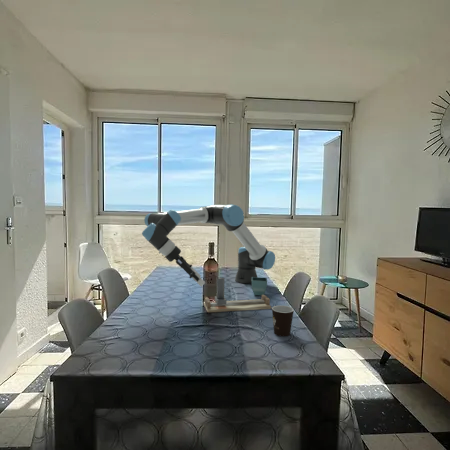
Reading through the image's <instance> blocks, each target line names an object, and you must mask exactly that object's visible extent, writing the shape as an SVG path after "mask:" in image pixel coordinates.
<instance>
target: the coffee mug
mask: <svg viewBox="0 0 450 450" xmlns="http://www.w3.org/2000/svg"><path fill="white" fill-rule="evenodd" d="M271 311H272V313H271V314H272V325H273V334H274V335H275V336H277V337H283V338H284V337H289V336H291V330H292V323H293V317H294V308H293V307H291V306H287V305H275V306H271Z"/></svg>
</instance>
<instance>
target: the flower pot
mask: <svg viewBox="0 0 450 450" xmlns="http://www.w3.org/2000/svg"><path fill="white" fill-rule="evenodd" d="M267 286H268V277H260V276H257V277H252V283H251V290H252V293H253V295H254V296H261V295H265V294H266V291H267V288H268V287H267Z"/></svg>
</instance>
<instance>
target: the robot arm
mask: <svg viewBox="0 0 450 450" xmlns="http://www.w3.org/2000/svg"><path fill="white" fill-rule="evenodd" d="M143 221H144V224H145V226H146V227H145V228H144V230H142V232H141V235H142V236H143V237H144V238H145V239H146V241H147V242H148V243H150V245H152V246H153V247H154V248H155V249H156V250H157V251H158V254H161V255H162V256H164V258H165V259H166V260H167V261H168V262H171V263H172V262H174V260H175V263H176V264H177V265H178V266H179V267H180V268H181V269H183V270H184V272H186V274H188V275H189V279H191V278H192V279H193V280H194V281H195V282H196V284H197V285H199V286H200V287H203V285H205V284H206V281H205V280H204V279H202V275H201V274H200V273H199V272H198V271H196V270H195V268H194V267H193V264H190V263H188V262H187V260H186V259H185V258H184V256H182V255H181V256H180V254H181V252H182V251H181V249H180V248H179V247H178V246H177V245H176V244H175V243H174V242H173V241H172V240H171V239H170V238H169V237H168V235H169V234H171V232H172V231H173V230H174V229H176V227H177V226H180V225H181V226H182V225H188V224H195V223H196V224H197V223H201V224H213V225H221V226H223V227H224V228H225V229H226V230H227V231H228V232H232V233H233V234H234V236H235V237H236V239H238V241H239V242H240V243H241V244H242V246H241V247H239V248H238V251H237V252H238V253H237V254H238V255H237V272H236V275H235V277H234V278H235V279H234V280H235V282H236V283H241V284H252V277H258V274H257V270H256V268H258V269H262V270H271V269H272V268H273V267H274V265H275V262H276V255H275V252H273V251H271V250H268V249H267V248H266V246H265V245H264V244H261V243H260V242H259V241H258V240H257V239H256V237H255V235H253V233H252V232H251V230H250V229H249V228H248V226H247V225H246V224H245V214H244V210H243V209H242V207H241V206H239V205H237V204H233V203H231V204H224V203H223V204H219V203H218V204H211V205H207V206H201V207H199V208H195V209H194V208H193V209H186V210H185V209H184V210H174V209H170V210H169V211H167V212H151V213H148V214H146V215H145V217H144V220H143Z"/></svg>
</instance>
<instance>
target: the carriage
mask: <svg viewBox="0 0 450 450" xmlns="http://www.w3.org/2000/svg"><path fill="white" fill-rule="evenodd" d="M216 280H217V281H216V286H217V287H216V295H215V296H214V302H216V303H217V304H218V305H220V304H226V302H227V301H228V300H227V299H226V297H225V283H226V281H225V277H217V279H216Z"/></svg>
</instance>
